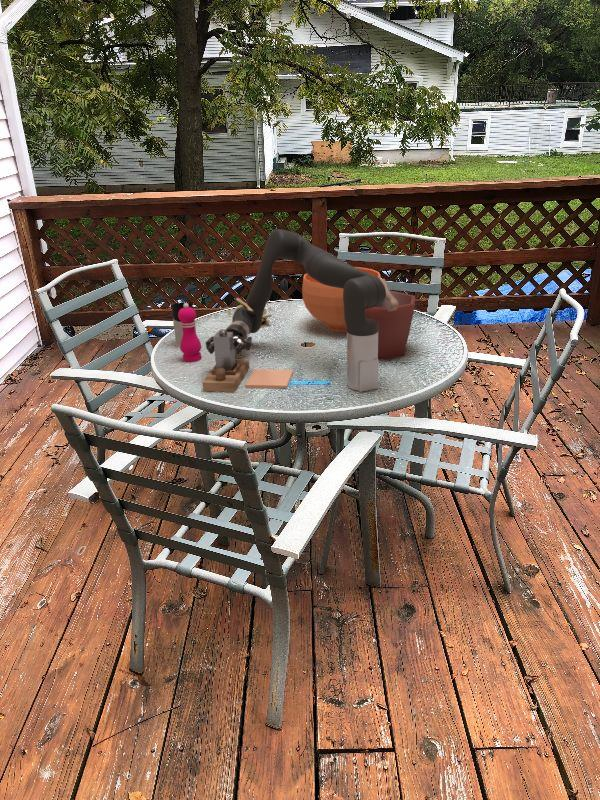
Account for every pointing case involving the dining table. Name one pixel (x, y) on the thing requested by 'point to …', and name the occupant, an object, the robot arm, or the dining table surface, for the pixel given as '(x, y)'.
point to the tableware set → (242, 304)
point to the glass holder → (178, 321)
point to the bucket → (392, 322)
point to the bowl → (327, 301)
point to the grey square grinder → (224, 350)
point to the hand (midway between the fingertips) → (223, 351)
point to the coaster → (269, 378)
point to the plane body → (226, 377)
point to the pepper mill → (189, 335)
